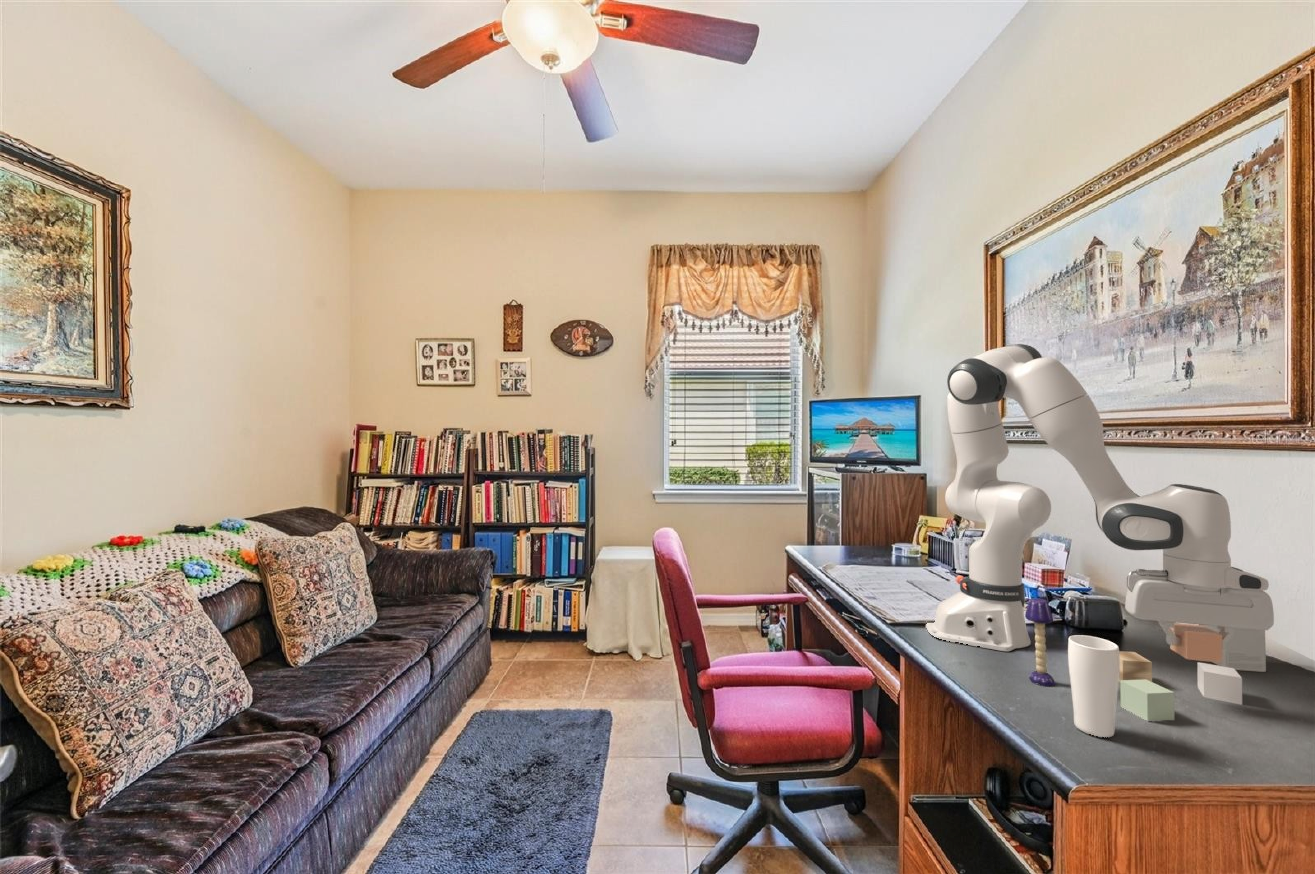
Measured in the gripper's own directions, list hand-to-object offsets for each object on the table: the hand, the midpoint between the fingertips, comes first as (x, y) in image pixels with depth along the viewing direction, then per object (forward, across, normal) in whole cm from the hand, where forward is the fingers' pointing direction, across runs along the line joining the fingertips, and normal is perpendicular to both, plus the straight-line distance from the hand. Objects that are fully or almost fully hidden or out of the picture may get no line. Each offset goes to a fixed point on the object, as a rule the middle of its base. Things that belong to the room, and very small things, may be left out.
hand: (1195, 647), depth 98 cm
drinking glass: (+11, -22, -16) cm, 29 cm away
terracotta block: (+2, 0, 0) cm, 2 cm away
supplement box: (+11, +18, +24) cm, 32 cm away
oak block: (+11, -7, +8) cm, 15 cm away
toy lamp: (+11, -24, +2) cm, 26 cm away
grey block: (+11, +6, +5) cm, 13 cm away
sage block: (+11, -10, -7) cm, 17 cm away
